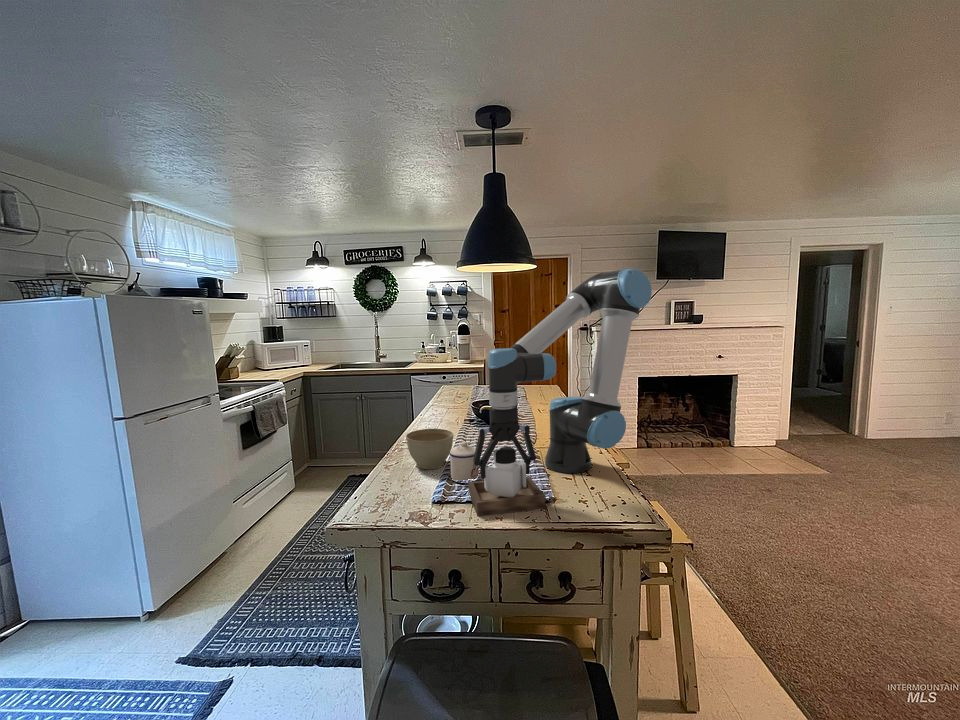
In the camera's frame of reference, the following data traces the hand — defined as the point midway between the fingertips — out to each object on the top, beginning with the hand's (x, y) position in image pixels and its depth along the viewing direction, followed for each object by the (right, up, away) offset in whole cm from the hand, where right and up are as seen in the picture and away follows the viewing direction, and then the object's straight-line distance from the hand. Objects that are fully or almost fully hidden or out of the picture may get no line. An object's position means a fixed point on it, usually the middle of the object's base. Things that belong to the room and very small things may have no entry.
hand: (505, 487), depth 114 cm
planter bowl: (-24, -2, +30) cm, 39 cm away
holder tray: (0, -4, 0) cm, 4 cm away
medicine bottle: (0, -1, 0) cm, 1 cm away
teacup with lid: (-11, -3, +19) cm, 22 cm away
